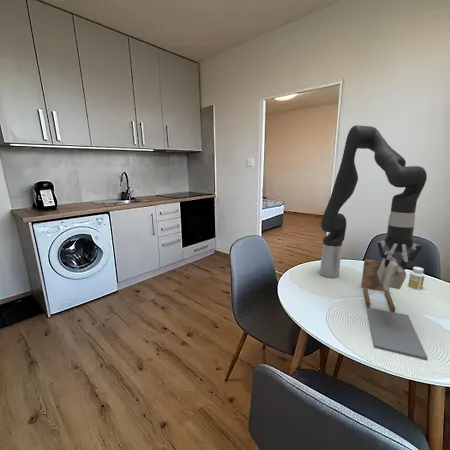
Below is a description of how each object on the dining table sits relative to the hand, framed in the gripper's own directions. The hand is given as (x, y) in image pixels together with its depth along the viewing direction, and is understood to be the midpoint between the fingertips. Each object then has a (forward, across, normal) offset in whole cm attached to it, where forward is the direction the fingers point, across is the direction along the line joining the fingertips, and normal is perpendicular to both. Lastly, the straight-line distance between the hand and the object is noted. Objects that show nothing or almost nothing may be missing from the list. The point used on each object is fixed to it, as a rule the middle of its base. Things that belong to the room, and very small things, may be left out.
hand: (394, 269), depth 92 cm
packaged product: (+6, -2, 0) cm, 7 cm away
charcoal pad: (+20, 0, -8) cm, 22 cm away
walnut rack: (+20, -2, +13) cm, 23 cm away
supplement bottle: (+20, +16, +33) cm, 42 cm away
